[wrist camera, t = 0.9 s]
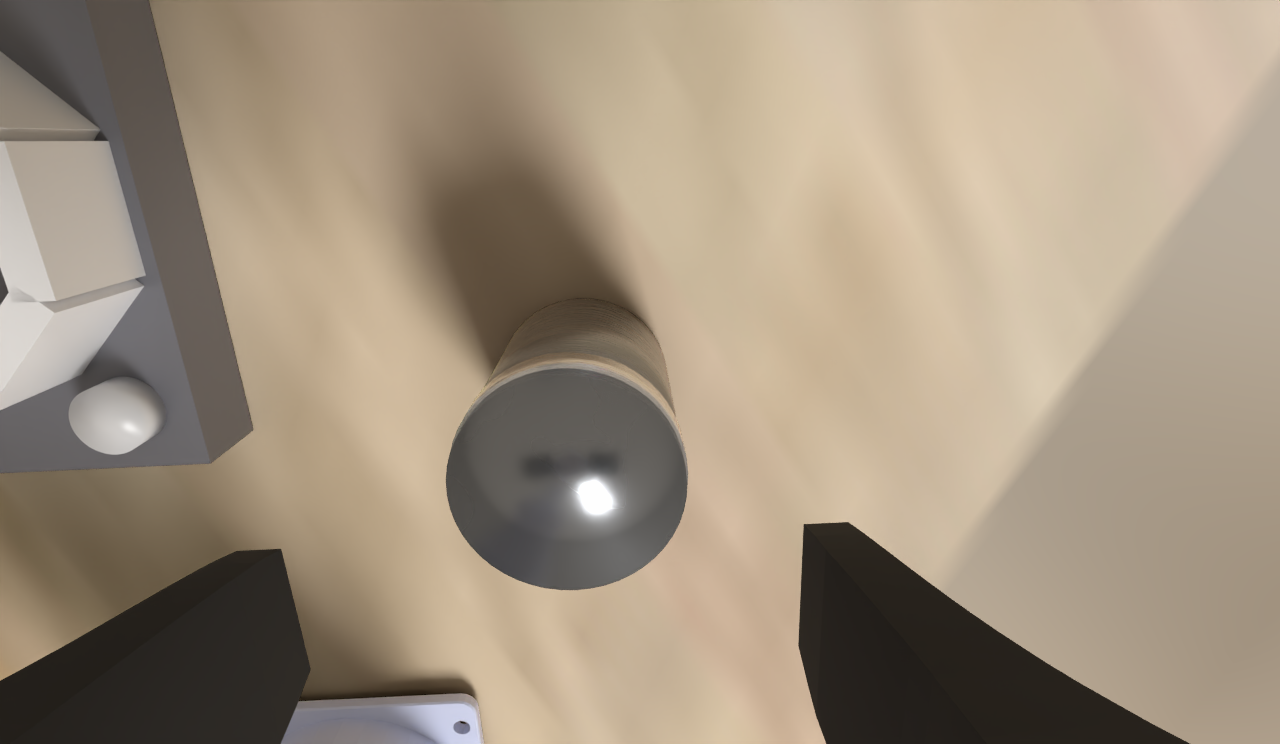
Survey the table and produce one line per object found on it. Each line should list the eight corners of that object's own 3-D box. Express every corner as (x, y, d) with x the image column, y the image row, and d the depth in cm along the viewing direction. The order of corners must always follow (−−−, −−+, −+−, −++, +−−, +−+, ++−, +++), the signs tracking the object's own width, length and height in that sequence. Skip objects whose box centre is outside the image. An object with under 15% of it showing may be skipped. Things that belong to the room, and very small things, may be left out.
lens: (670, 451, 19) (692, 586, 13) (508, 459, 19) (459, 597, 13) (666, 292, 17) (687, 366, 12) (490, 300, 17) (426, 378, 12)
